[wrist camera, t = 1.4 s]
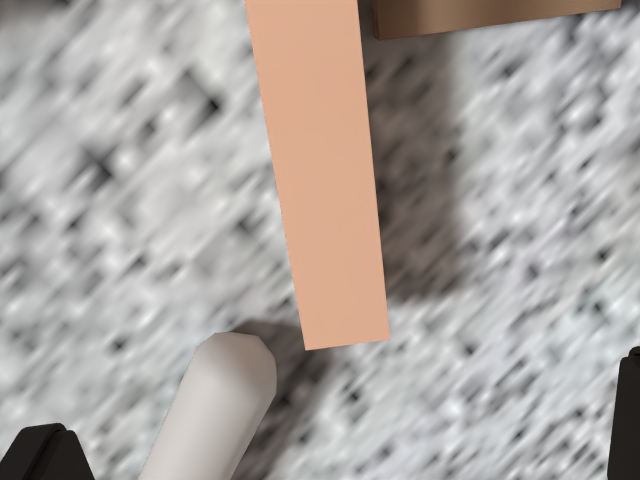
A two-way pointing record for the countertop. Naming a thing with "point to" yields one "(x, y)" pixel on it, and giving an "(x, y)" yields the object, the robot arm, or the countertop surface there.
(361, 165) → the clay strip
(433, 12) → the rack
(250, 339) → the tube
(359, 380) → the countertop surface
